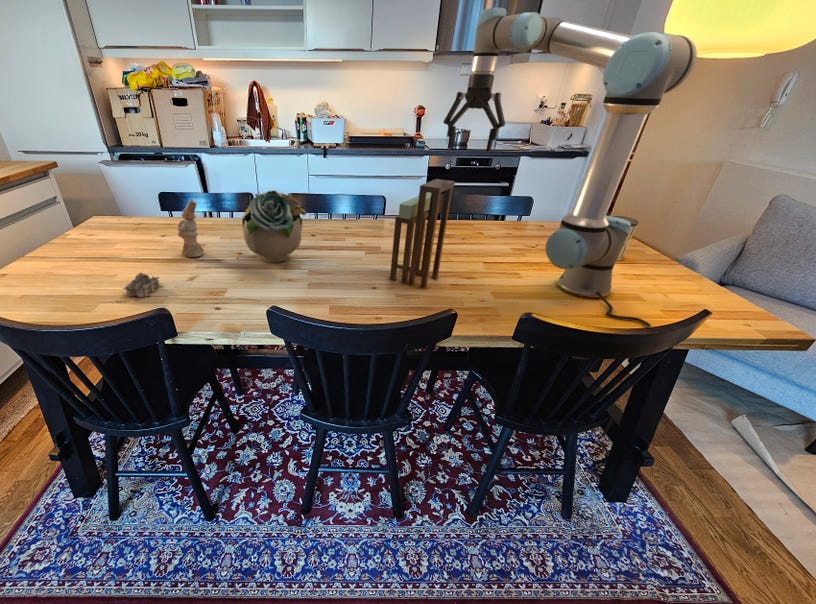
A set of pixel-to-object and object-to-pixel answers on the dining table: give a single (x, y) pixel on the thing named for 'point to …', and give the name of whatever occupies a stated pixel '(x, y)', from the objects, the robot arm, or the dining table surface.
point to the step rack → (422, 234)
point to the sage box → (412, 207)
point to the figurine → (189, 231)
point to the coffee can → (629, 236)
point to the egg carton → (142, 285)
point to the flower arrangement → (273, 225)
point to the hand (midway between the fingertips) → (468, 149)
